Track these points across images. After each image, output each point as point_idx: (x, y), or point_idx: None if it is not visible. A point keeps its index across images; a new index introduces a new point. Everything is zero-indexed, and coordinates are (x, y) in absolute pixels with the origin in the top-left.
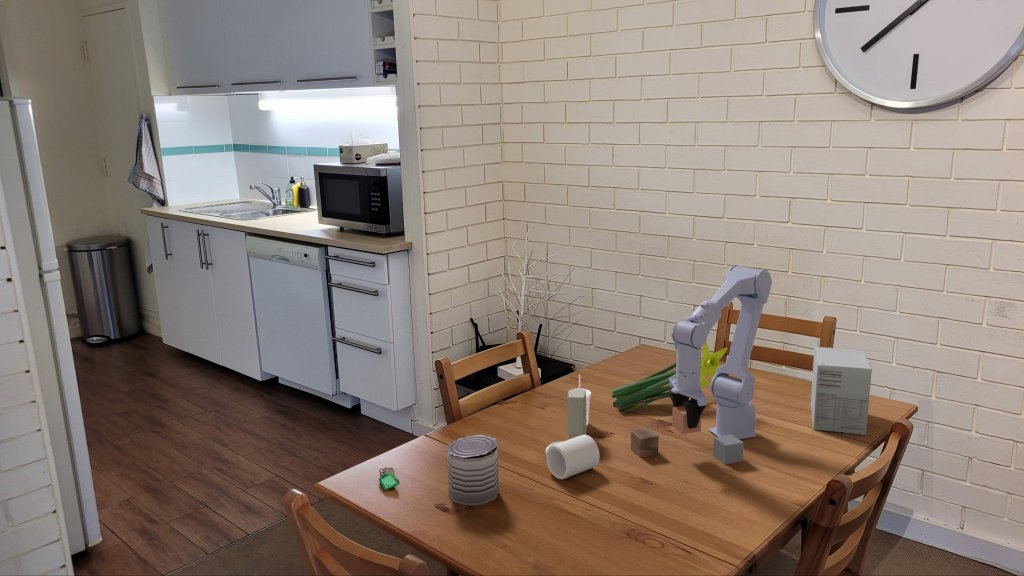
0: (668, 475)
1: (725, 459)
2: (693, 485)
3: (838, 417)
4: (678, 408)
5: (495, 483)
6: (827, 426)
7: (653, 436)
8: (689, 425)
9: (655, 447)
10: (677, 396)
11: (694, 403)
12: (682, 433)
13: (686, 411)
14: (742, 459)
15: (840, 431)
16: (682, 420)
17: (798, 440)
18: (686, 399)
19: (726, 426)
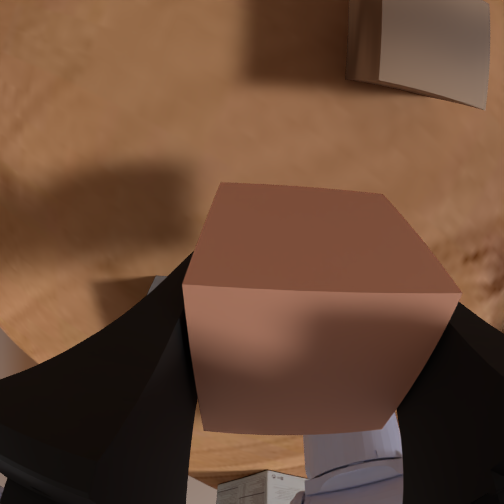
0: (133, 22)
1: (150, 290)
2: (41, 91)
3: (239, 501)
4: (395, 331)
5: None
6: (251, 482)
7: (386, 47)
8: (181, 263)
9: (357, 62)
10: (486, 443)
11: (8, 478)
12: (221, 184)
13: (144, 349)
14: None
15: (238, 480)
16: (208, 237)
17: (238, 448)
18: (414, 452)
19: None
